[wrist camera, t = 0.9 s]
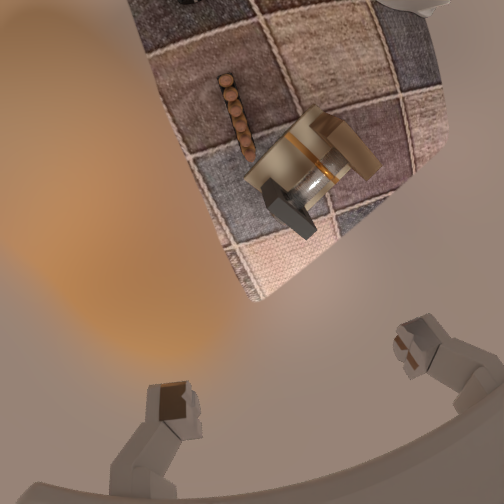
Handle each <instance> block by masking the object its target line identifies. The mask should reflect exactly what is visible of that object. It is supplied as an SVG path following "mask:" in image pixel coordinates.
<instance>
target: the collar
mask: <svg viewBox="0 0 504 504" xmlns="http://www.w3.org/2000/svg"><path fill="white" fill-rule="evenodd" d="M260 188H261V191H262V194H263V198H264V201H265V204H266V208H267V209H268V210H269V211H270V212H271V213H273V214H274V215H275V216H276V217H278V218H279V219H280V220H281V221H283V222H284V223H285V224H286V225H288V226H289V227H290V228H291V229H293V230H294V231H295V232H296V233H298V234H299V235H300V236H301V237H303V238H304V239H305V240H307V239H308V238H309V237H310V236H312V235H313V234H314V233H315V232H316V231H317V228H316V227H315V225H314V223H313V221H312V219H311V217H310V216H309V214H308V212H307V210H306V208H305V206H304V207H303V208H302V209H301V210H300V211H298V210H297V209H296V208H295V207H293V206H292V205H291V204H290V203H289V202H288V201H286V200H285V198H284V196H285V195H286V194H287V193H288V192H287V191H286V190H285V189H284V188H282V187H281V186H280V185H279V184H278V183H277V182H275V181H274V180H273V179H272V178H271V177H270V178H269V179H268V180H267V181H266V182H265V183H264V184H263V185H262V186H261V187H260Z"/></svg>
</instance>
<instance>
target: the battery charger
mask: <svg viewBox="0 0 504 504" xmlns="http://www.w3.org/2000/svg"><path fill="white" fill-rule="evenodd" d="M178 1H179V3H181V4H191V3H194V2H195V3H196V2H198V1H201V0H178Z"/></svg>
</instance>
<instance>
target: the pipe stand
mask: <svg viewBox="0 0 504 504" xmlns="http://www.w3.org/2000/svg"><path fill="white" fill-rule="evenodd" d="M333 147H334V148H335V149H336V150H338V151H339V152H340V153H341V154H342V155H343V156H344V157H345V159H346V160H347V161H348V162H349V163H348V164H347V165H346V166H345V167H344V168H342V169H341V170H340V171H339V172H338V173H337V174H336V175H335V178H334V179H333V180H332V181H329V182H328V183H327V184H326V185H325V186H324V187H323V188H322V189H321V190H320V191H319V192H318V193H317V194H316V195H315V196H314V197H313V198H312V199H311V200H310V201H309V202H308V203H307V204H306V205H305V208H306V210H307V211H308V210H309V209H310V208H311V207H312V206H313V205H314V204H315V203H316V202H317V201H318V200H319V199H320V198H321V197H322V196H323V195H324V194H325V193H326V192H327V191H328V190H330V189H331V188H332V187H333V186H334V185H335V184H336V183H337V182H338V181H339V180H340V179H341V178H342V177H343V176H344V175H345V174H346V173H347V172H348V171H349V170H350V169H351V168H352V169H353V170H354V171H355V172H357V173H358V174H359V175H360V176H361V177H362V178H364V179H365V180H366V181H367V180H369V179H370V178H371V177H372V176H373V175H374V174H375V173H376V172H377V171H378V170H379V169H380V168H381V167H382V164H381V163H380V162H379V161H378V159H377V158H376V157H375V156H374V154H373V153H372V152H371V151H370V150H369V148H368V147H367V146H366V145H365V144H364V143H363V141H362V140H361V139H360V138H359V137H358V136H357V134H356V133H355V132H354V131H353V130H352V129H351V128H350V127H349V125H348V124H347V123H346V122H345V121H344V120H342V119H339V118H337V117H335V116H332V115H330V114H327V113H325V112H323V111H322V110H321V109H320V108H319V107H318V106H317V105H316V104H313V105H312V106H311V107H310V108H309V109H308V110H307V111H306V112H305V113H304V114H303V115H302V116H301V117H300V118H299V119H298V120H297V121H296V122H295V123H294V124H293V125H292V126H291V127H290V128H289V129H288V130H287V131H286V132H285V133H284V134H283V135H282V136H281V137H280V139H279V140H278V141H277V142H276V143H275V144H274V145H273V146H272V147H271V148H270V149H269V150H268V151H267V152H266V153H265V154H264V155H263V156H262V158H261V159H260V160H259V161H258V162H257V163H256V164H255V165H254V166H253V167H252V168H251V169H250V171H249V172H248V173H247V174H246V175H245V176H244V180H246V181H247V182H248V183H250V184H251V185H252V186H253V187H255V188H256V189H257V190H258V191H260V192H261V193H262V191H261V188H260V187H261V186H262V185H263V184H264V183H265V182H266V181H267V180H268V179H269V178H270V177H271V178H272V179H273V180H274V181H275V182H277V183H278V184H279V185H280V186H281V187H282V188H284V189H285V190H286V191H287V192H289V191H290V190H291V189H292V188H293V187H294V186H295V185H296V184H297V183H298V182H299V181H300V180H301V179H302V178H303V177H304V176H305V175H306V174H307V173H308V172H309V171H310V170H311V169H312V168H313V167H314V164H315V163H316V162H317V161H318V160H320V159H321V158H322V157H323V156H324V155H325V154H327V153H328V152H329V151H330V150H331V149H332V148H333Z"/></svg>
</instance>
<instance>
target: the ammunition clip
mask: <svg viewBox="0 0 504 504" xmlns="http://www.w3.org/2000/svg"><path fill="white" fill-rule="evenodd" d="M217 80H218V83H219V86H220V89H221V92H222V94H223V97H224V100H225V103H226V106H227V109H228V112H229V115H230V119H231V122H232V125H233V128H234V131H235V134H236V137H237V140H238V143H239V146H240V149H241V152H242V154H243V155H244V156H245V158H246V159H247V161H249V162H253V161H254V160H255V148H256V147H255V144H254V141H253V138H252V134H251V131H250V128H249V125H248V121H247V118H246V115H245V112H244V109H243V106H242V102H241V99H240V96H239V93H238V90H237V87H236V84H235V81H234V78H233V75H232V73H227V74H223V75H220V76H218V77H217Z"/></svg>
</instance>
